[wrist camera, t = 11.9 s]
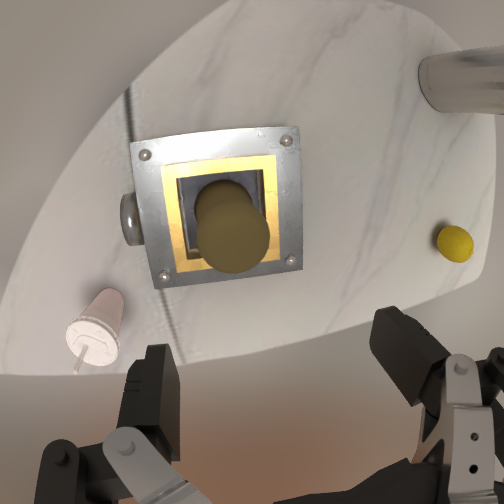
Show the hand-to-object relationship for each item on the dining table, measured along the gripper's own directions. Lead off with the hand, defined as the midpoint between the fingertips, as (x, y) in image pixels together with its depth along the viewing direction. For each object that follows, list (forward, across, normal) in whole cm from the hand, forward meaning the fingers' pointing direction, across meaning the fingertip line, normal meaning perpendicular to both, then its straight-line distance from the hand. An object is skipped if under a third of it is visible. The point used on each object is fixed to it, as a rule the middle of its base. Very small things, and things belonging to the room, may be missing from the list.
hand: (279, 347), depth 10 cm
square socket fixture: (+25, +1, 0) cm, 25 cm away
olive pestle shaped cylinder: (+21, 0, -1) cm, 21 cm away
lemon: (+25, -34, +7) cm, 43 cm away
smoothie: (+25, +17, +11) cm, 32 cm away
